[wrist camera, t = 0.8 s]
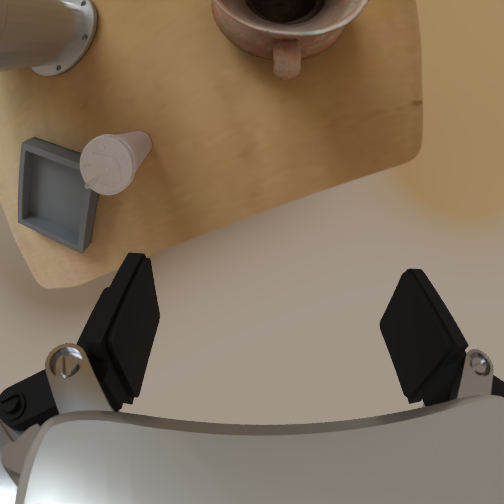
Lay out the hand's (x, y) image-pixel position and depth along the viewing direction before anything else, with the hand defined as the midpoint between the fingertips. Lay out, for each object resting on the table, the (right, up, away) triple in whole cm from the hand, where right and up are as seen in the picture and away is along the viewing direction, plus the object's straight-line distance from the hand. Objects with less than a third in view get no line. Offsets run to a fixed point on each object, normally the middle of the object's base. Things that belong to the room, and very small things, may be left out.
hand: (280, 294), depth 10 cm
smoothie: (-15, +15, +23) cm, 32 cm away
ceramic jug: (+2, +29, +14) cm, 32 cm away
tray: (-30, +11, +26) cm, 41 cm away
